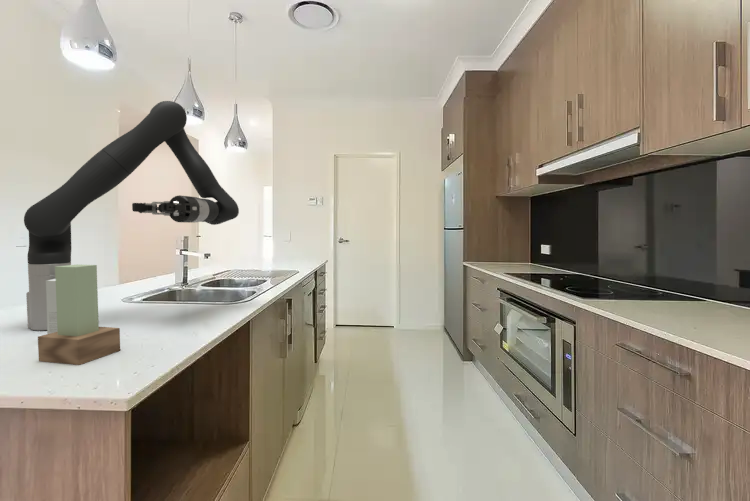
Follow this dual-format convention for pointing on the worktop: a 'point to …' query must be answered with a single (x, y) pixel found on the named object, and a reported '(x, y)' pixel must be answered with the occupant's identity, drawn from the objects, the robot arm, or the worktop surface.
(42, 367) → the worktop surface
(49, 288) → the skincare box
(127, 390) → the worktop surface
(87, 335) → the walnut riser block
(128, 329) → the worktop surface
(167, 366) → the worktop surface
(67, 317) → the sage block
